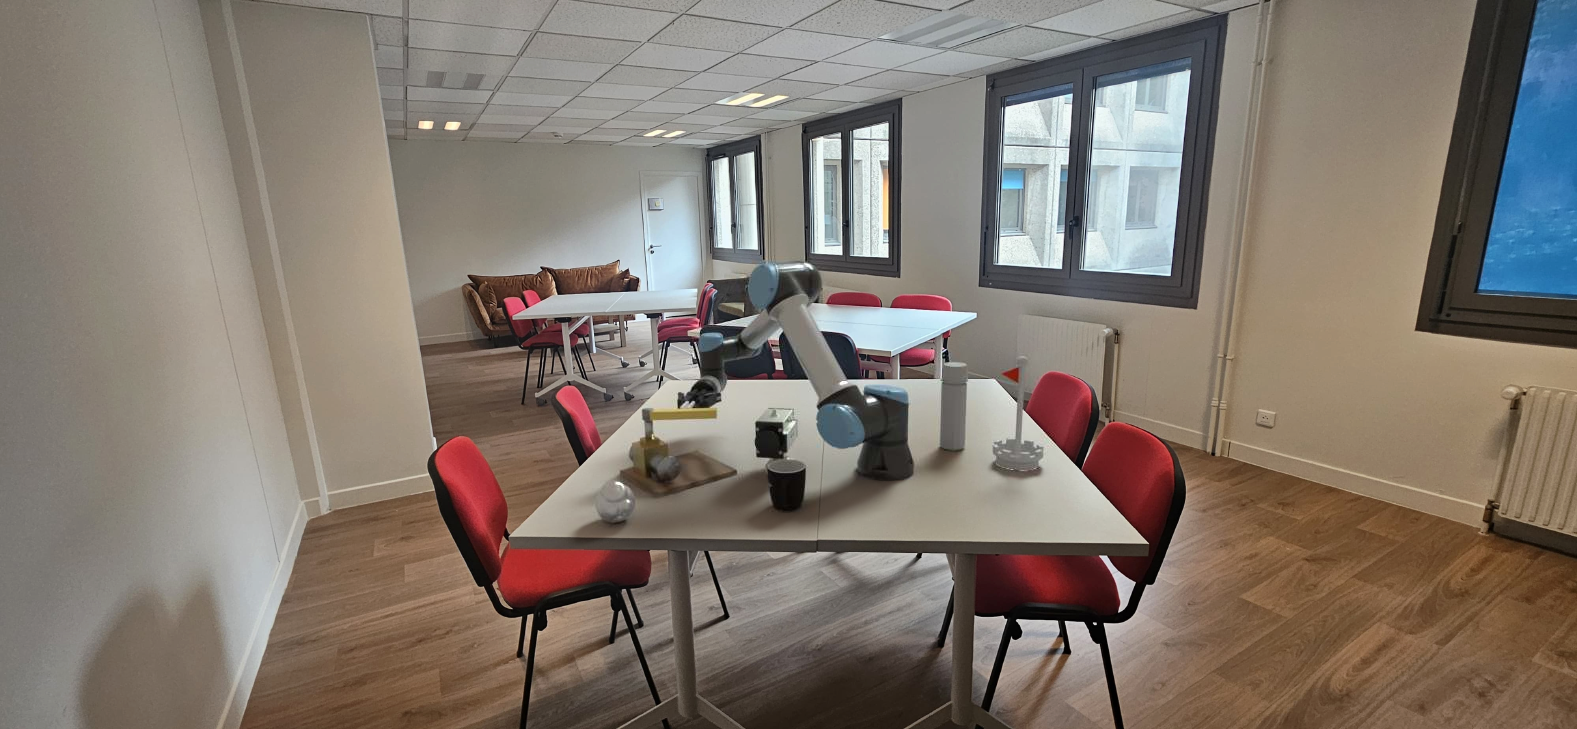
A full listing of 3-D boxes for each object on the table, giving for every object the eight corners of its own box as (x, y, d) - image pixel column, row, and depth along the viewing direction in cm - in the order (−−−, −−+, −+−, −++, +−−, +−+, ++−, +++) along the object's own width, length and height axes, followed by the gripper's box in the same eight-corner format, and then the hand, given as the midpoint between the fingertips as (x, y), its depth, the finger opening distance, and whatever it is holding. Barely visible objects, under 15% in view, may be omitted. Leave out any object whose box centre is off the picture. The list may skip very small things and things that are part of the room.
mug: (771, 498, 161) (770, 458, 159) (808, 499, 160) (807, 459, 158) (763, 519, 150) (762, 477, 148) (803, 520, 149) (802, 478, 147)
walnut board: (656, 497, 163) (655, 493, 163) (620, 474, 179) (619, 470, 179) (737, 474, 178) (736, 469, 177) (697, 454, 194) (696, 450, 193)
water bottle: (967, 452, 191) (970, 367, 186) (939, 451, 192) (941, 366, 187) (964, 441, 200) (966, 360, 195) (937, 441, 201) (939, 360, 196)
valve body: (658, 486, 167) (655, 432, 164) (628, 468, 180) (625, 418, 177) (682, 479, 171) (679, 427, 168) (652, 462, 184) (649, 413, 182)
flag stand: (1044, 459, 184) (1050, 353, 177) (1040, 475, 172) (1047, 362, 166) (995, 453, 189) (1000, 350, 183) (988, 469, 177) (993, 359, 171)
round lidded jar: (589, 529, 146) (585, 487, 144) (606, 511, 156) (603, 471, 154) (628, 531, 145) (624, 488, 143) (643, 513, 154) (640, 472, 152)
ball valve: (787, 486, 168) (785, 419, 165) (754, 484, 170) (752, 418, 167) (801, 462, 186) (799, 400, 182) (771, 460, 187) (769, 399, 184)
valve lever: (641, 420, 173) (640, 411, 172) (643, 417, 176) (642, 408, 175) (716, 418, 173) (715, 409, 173) (717, 415, 176) (716, 406, 176)
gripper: (729, 403, 199) (711, 426, 176) (683, 402, 200) (659, 425, 177) (728, 378, 197) (710, 399, 174) (681, 378, 199) (658, 398, 176)
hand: (684, 412), depth 176 cm, fingers closed
